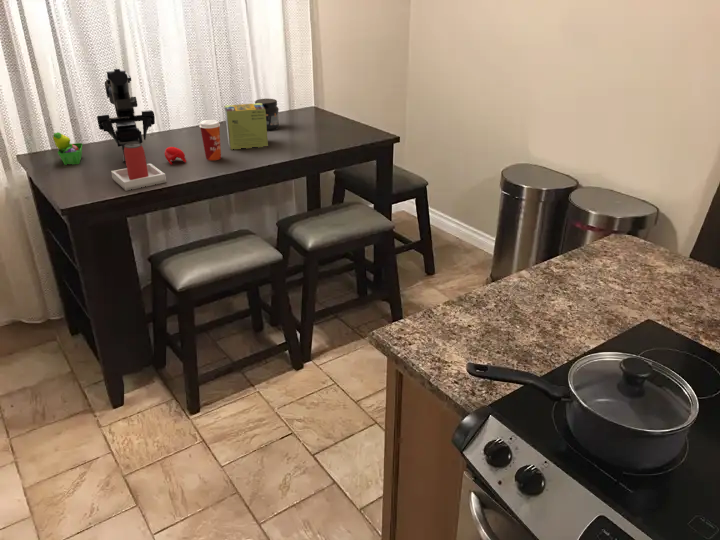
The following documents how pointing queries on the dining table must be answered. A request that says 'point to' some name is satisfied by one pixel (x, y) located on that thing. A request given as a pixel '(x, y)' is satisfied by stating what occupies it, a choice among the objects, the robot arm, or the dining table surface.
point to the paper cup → (211, 139)
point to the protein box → (246, 125)
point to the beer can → (135, 161)
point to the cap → (174, 154)
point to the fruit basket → (68, 149)
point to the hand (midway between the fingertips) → (131, 141)
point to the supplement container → (270, 112)
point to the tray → (153, 178)
